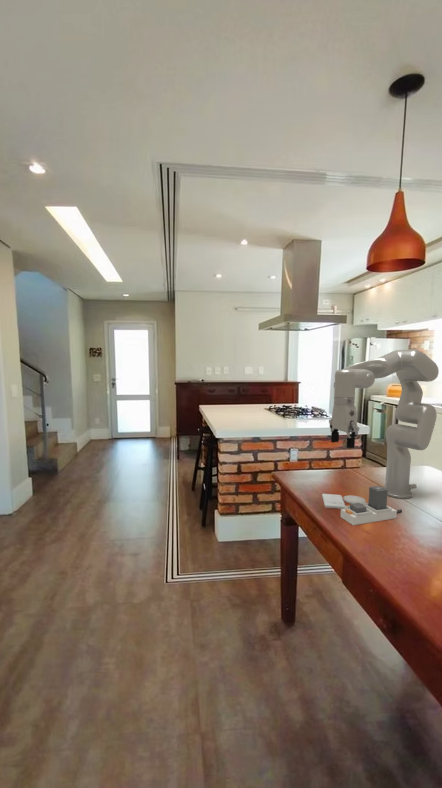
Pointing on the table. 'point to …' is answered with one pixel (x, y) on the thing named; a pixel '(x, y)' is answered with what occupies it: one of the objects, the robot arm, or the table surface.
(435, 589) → the table surface
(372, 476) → the table surface
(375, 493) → the charger
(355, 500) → the coaster
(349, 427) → the robot arm
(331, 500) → the external hard drive
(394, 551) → the table surface
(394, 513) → the power strip
